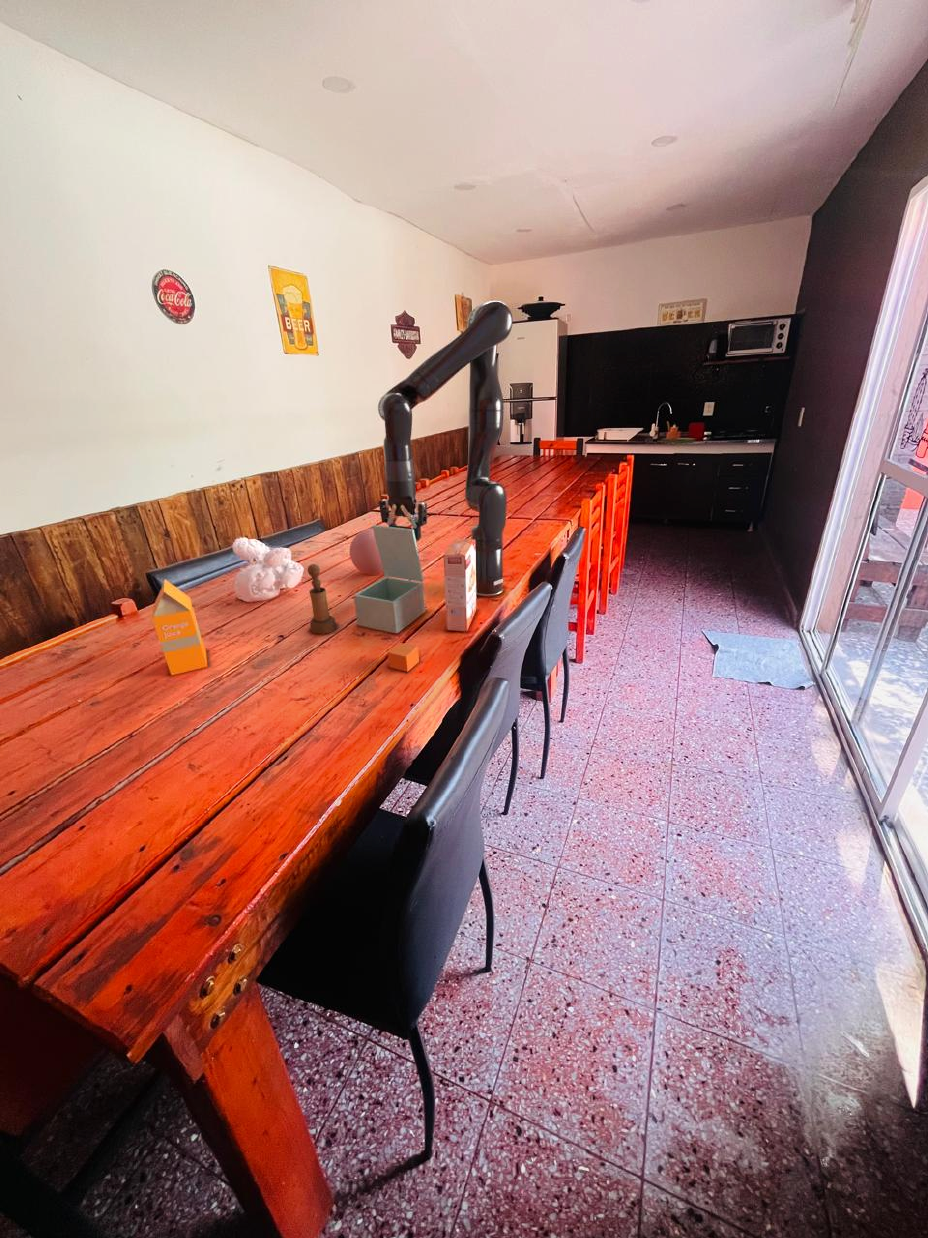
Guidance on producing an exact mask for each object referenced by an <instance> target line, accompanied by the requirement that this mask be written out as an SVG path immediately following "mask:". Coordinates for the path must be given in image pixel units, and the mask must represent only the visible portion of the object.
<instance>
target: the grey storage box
mask: <svg viewBox="0 0 928 1238" xmlns="http://www.w3.org/2000/svg"><path fill="white" fill-rule="evenodd" d="M353 601H354V602H353V603H354V606H355V607H354V608H355V615H356V622H357V626H360V627H364V628H369V629H373V630H378V631H383V632H387V633H392V634H396V635H397V634H398V633H400V632H401V631H402V630H404V629H405V628H406V627H408V626H409V625H410V624H411V623H413V622H414V621H415V620H417V619H418V618H419V617H420V616H422V615H423V614H424V613H426V603H425V601H426V600H425V587H424V582H420V581H414V580H408V579H401V578H395V577H389V576H384V577H382V578H381V579H379V580H377V581H375V582H374V583H372V584H370V585H369V586H367V587H365V588H363V589H362V590H360V591H359V592H356V593H355V594H353Z"/></svg>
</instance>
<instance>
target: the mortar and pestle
mask: <svg viewBox="0 0 928 1238" xmlns="http://www.w3.org/2000/svg"><path fill="white" fill-rule="evenodd" d="M307 573H308V574H309V576H310V577H311V578H312V581H311V585H312V588H311V589H310V590H309V596H310V600H311V606H312V610H313V611H312V612H313V618H312V619H311V620H310V622H309V624H310V630H311V633H314V634H317V635H322V634H323V635H324V634H329V633H332V632H334V631H335V630H336V629H337V622H336V618H335V617H334V616H332V615H330V609H329V604H328V597H327V591H326V588H325V587H321V584H322V583H321V582H322V581H321V580H320V579H319V576H320V573H321V569H320V566H319V565H318V564H315V563H312V564H309V565H308V567H307Z"/></svg>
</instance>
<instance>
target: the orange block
mask: <svg viewBox="0 0 928 1238" xmlns="http://www.w3.org/2000/svg"><path fill="white" fill-rule="evenodd" d="M387 660H388V661H387V662H388V667H389V668H391V669H394V670H398V671H401V672H402V671H403V672H407V673H408V672H409V671H411V670H412V669H413V668H414V667H415V666H416V665H417V664H418V663H419V662H420V656H419V646H418V645H417V646H416V645H412V644H408V643H403V642H398V643H397V644H396V645H394V646H393V647H392V648H391V649H389V650H388V651H387Z"/></svg>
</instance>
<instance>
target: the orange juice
mask: <svg viewBox="0 0 928 1238" xmlns="http://www.w3.org/2000/svg"><path fill="white" fill-rule="evenodd" d="M152 605H153V606H152V614H151V620H152V623H153V626H154V629H155V632H156V635H157V638H158V641H159V644H160V647H161V650H162V653H163V655H164V658H165V661H166V664H167V667H168V669H169V673H170V676H174V675H180V674H183V673H188V672H191V671H192V672H193V671H196V670H200V669H205V668H207V667H208V660H207V651H206V647H205V644H204V641H203V637H202V635H201V631H200V627H199V624H198V619H197V617H196V612H195V609H194V607H193V603H192V601H191V597H190V596H189V595H187V594H186V593H184V592H183V591H182V590H180V589H179V588H177V587H176V586H175V585H173V584H172V583H171V582H169V581H168V580H167V579H164V582H163V584H162V586H161V589H160V590H159V593H158V595H157V597H156V599H155V602H154V603H153V604H152Z"/></svg>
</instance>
